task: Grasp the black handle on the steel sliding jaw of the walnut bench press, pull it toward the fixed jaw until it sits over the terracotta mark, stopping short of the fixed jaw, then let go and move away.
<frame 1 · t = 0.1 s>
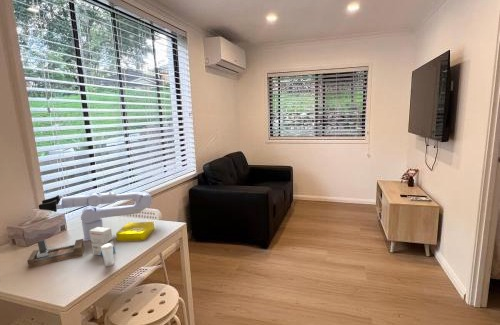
hand: (40, 204, 136), 22 cm above the table, tool horizontal, fingers open, 7 cm apart
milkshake: (108, 265, 120), on the table
ink box: (104, 253, 131), on the table
sliding jaw: (43, 247, 127), point 5 cm above the table, slide at 0.0 cm
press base: (58, 256, 130), on the table
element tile: (136, 235, 149), on the table
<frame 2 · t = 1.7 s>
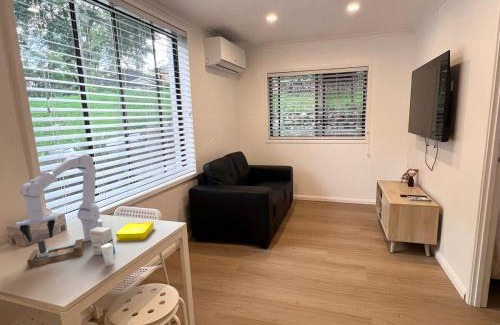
hand: (41, 239, 126), 10 cm above the table, tool pointing down, fingers open, 7 cm apart
nothing on the table moved.
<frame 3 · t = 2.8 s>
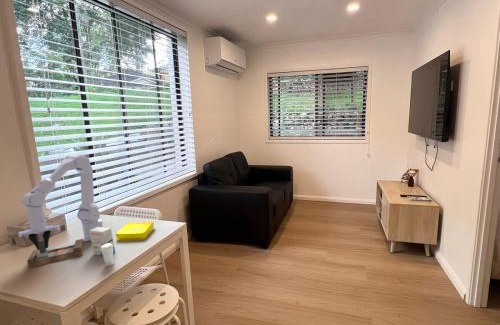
hand: (43, 248, 127), 5 cm above the table, tool pointing down, fingers closed on sliding jaw, 2 cm apart
sliding jaw: (43, 247, 127), point 5 cm above the table, slide at 0.0 cm, touching gripper
everything else where it was.
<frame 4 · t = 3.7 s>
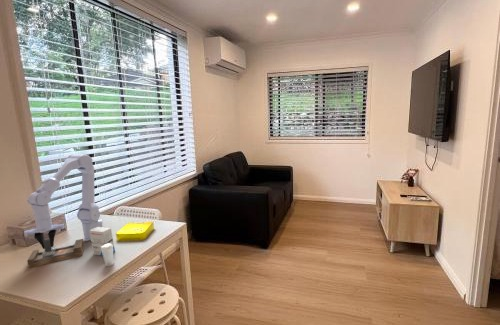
hand: (48, 247, 127), 5 cm above the table, tool pointing down, fingers closed on sliding jaw, 2 cm apart
sliding jaw: (48, 246, 127), point 5 cm above the table, slide at 2.0 cm, touching gripper
everything else where it was.
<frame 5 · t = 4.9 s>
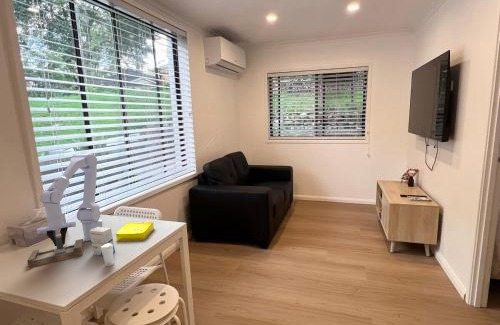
hand: (60, 244, 129), 5 cm above the table, tool pointing down, fingers closed on sliding jaw, 2 cm apart
sliding jaw: (60, 244, 129), point 5 cm above the table, slide at 6.5 cm, touching gripper
everything else where it was.
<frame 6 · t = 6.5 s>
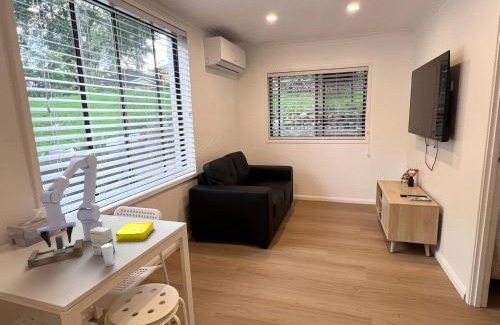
hand: (60, 244, 129), 5 cm above the table, tool pointing down, fingers open, 7 cm apart
sliding jaw: (60, 244, 129), point 5 cm above the table, slide at 6.5 cm
everything else where it was.
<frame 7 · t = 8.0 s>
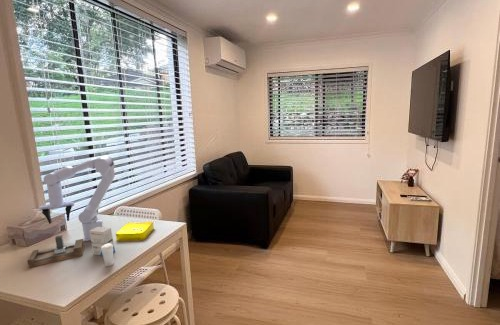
hand: (59, 221, 145), 10 cm above the table, tool pointing down, fingers open, 7 cm apart
nothing on the table moved.
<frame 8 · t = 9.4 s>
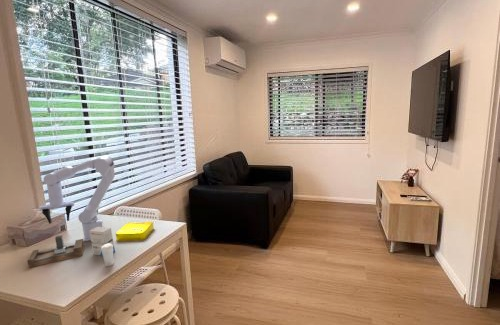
hand: (59, 221, 145), 10 cm above the table, tool pointing down, fingers open, 7 cm apart
nothing on the table moved.
at the end: sliding jaw slide at 6.5 cm; the gripper is holding nothing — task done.
